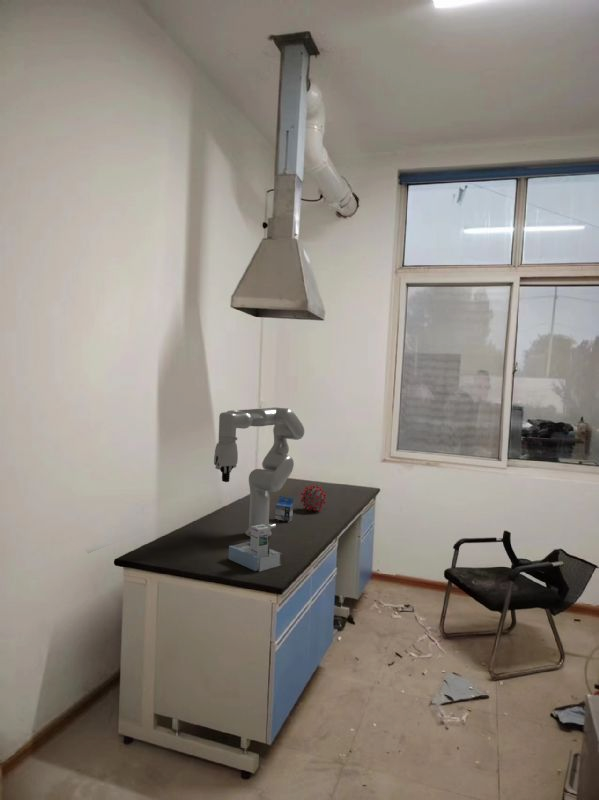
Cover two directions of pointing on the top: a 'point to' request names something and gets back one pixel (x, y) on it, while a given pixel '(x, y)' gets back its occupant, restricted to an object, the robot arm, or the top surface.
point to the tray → (244, 557)
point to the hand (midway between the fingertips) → (225, 481)
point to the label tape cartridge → (284, 509)
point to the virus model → (313, 498)
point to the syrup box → (260, 541)
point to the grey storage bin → (265, 558)
